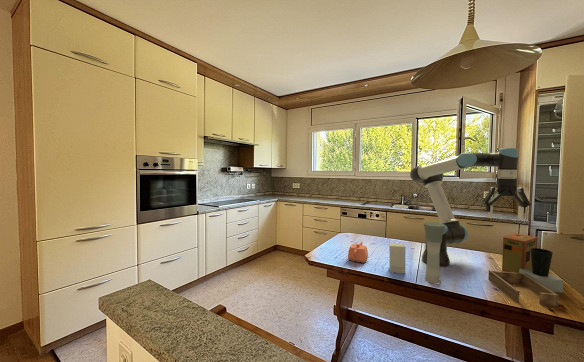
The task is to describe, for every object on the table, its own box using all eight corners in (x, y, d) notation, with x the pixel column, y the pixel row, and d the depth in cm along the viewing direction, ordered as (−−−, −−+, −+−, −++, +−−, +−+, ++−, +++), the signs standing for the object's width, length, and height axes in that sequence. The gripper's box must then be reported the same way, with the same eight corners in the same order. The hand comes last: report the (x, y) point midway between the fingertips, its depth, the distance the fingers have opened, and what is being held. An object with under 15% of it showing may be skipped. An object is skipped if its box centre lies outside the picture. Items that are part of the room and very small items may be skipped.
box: (522, 278, 128) (524, 241, 127) (501, 271, 136) (503, 237, 135) (535, 271, 136) (537, 237, 135) (515, 266, 144) (516, 233, 143)
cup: (538, 270, 124) (539, 247, 123) (556, 277, 116) (557, 252, 115) (525, 271, 123) (526, 248, 122) (541, 277, 115) (542, 253, 115)
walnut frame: (516, 302, 105) (516, 291, 105) (488, 279, 127) (488, 270, 126) (558, 306, 102) (559, 295, 102) (522, 282, 123) (522, 273, 123)
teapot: (345, 262, 150) (345, 246, 150) (353, 253, 166) (353, 239, 165) (363, 266, 144) (363, 249, 144) (370, 256, 160) (370, 241, 159)
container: (436, 286, 119) (438, 227, 118) (418, 278, 128) (419, 223, 126) (447, 282, 124) (449, 224, 122) (429, 275, 132) (430, 221, 131)
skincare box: (404, 269, 139) (404, 243, 138) (405, 274, 133) (406, 247, 132) (388, 267, 142) (389, 242, 141) (389, 272, 136) (389, 245, 135)
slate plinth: (534, 290, 116) (535, 277, 115) (518, 279, 126) (519, 268, 126) (562, 292, 113) (563, 280, 113) (544, 282, 124) (545, 270, 123)
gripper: (483, 178, 123) (481, 218, 125) (541, 178, 118) (539, 221, 119) (475, 177, 131) (473, 216, 132) (530, 178, 125) (528, 218, 126)
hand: (504, 218), depth 125 cm, fingers open, 13 cm apart
